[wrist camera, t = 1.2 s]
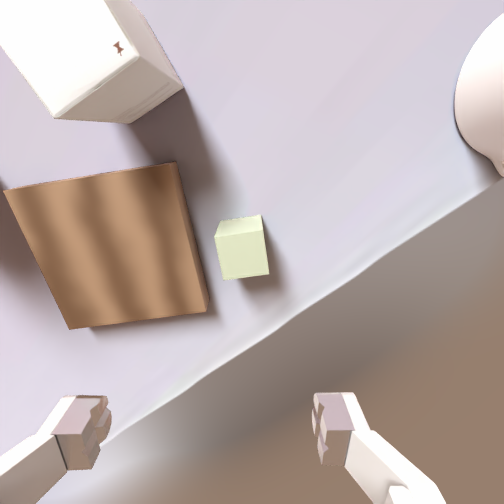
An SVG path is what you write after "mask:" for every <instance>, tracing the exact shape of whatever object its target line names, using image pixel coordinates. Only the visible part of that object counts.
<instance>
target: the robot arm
mask: <svg viewBox="0 0 504 504" xmlns="http://www.w3.org/2000/svg"><path fill="white" fill-rule="evenodd" d="M455 116H456V121H457V125H458V128H459V130H460V132H461V134H462V136H463V137H464V139H465V140H466V142H467V143H468V144H469V145H470V146H471V147H472V148H473V149H475V150H476V151H478V152H480V153H481V154H483V155H485V156H487V157H488V158H489V159H490V160H492V162H493V164H494V166H495V168H496V170H497V171H498V173H499V174H500V175H501V176H502V177H504V13H503V14H502V15H500V16H499V17H498V18H497V19H496V20H495V21H494V22H493V23H492V24H491V25H490V26H489V27H488V28H487V29H486V30H485V31H484V32H483V33H482V35H481V36H480V37H479V39H478V40H477V41H476V43H475V44H474V46H473V47H472V49H471V51H470V52H469V54H468V56H467V58H466V60H465V62H464V64H463V67H462V69H461V72H460V75H459V78H458V82H457V86H456V92H455ZM107 404H108V399H107V396H88V395H66V396H64V397H63V398H61V400H60V401H59V402H58V404H57V405H56V407H55V408H54V409H53V411H52V412H51V414H50V415H49V417H48V418H47V419H46V421H45V422H44V424H43V425H42V426H41V428H40V429H39V431H38V432H37V433H36V435H32V436H30V437H28V438H27V439H25V440H24V441H22V442H21V443H20V444H18V445H17V446H15V447H14V448H12V449H11V450H9V451H8V452H7V453H5V454H4V455H2V456H1V457H0V504H36V502H38V501H39V500H40V498H42V497H43V496H44V495H45V494H46V493H47V492H48V491H49V490H50V489H51V488H52V487H53V486H54V485H55V484H56V483H57V482H58V481H59V480H60V479H61V478H62V477H63V476H64V475H65V474H66V473H67V470H86V469H92V467H93V465H94V463H95V461H96V459H97V457H98V455H99V452H100V446H99V444H100V443H101V442H102V441H104V440H105V439H106V437H107V435H108V433H109V430H110V426H111V417H112V416H111V411H110V410H109V409H108V408H106V406H107ZM314 404H315V406H314V408H313V409H312V424H313V430H314V435H315V436H316V437H317V438H318V446H317V447H318V452H319V456H320V460H321V464H322V465H336V466H338V465H339V466H345V468H346V469H347V470H348V472H349V473H350V474H351V475H352V477H353V478H354V479H355V480H356V482H357V483H358V484H359V485H360V487H361V488H362V489H363V490H364V492H365V493H366V494H367V496H368V497H369V498H370V499H371V501H372V502H373V503H374V504H446V502H445V501H444V499H443V497H442V495H441V493H440V492H439V490H438V488H437V486H436V484H435V483H433V482H432V481H431V480H430V479H429V478H428V477H427V476H426V475H424V474H423V473H422V472H421V471H420V470H419V469H418V468H416V467H415V466H414V465H413V464H412V463H410V462H409V461H408V460H407V459H406V458H405V457H404V456H403V455H402V454H400V453H399V452H398V451H397V450H396V449H395V448H394V447H392V446H391V445H390V444H389V443H388V442H387V441H386V440H384V439H383V438H382V437H381V436H380V435H379V434H378V433H376V432H375V431H370V428H369V426H368V424H367V421H366V419H365V417H364V415H363V412H362V410H361V408H360V405H359V403H358V401H357V398H356V396H355V394H354V393H353V392H351V393H349V392H348V393H339V392H338V393H315V394H314Z"/></svg>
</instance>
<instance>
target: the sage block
mask: <svg viewBox="0 0 504 504" xmlns="http://www.w3.org/2000/svg"><path fill="white" fill-rule="evenodd" d="M214 239H215V243H216V248H217V253H218V257H219V262H220V267H221V271H222V276H223V280H230V279H237V278H245V277H252V276H259V275H267V274H269V268H268V261H267V253H266V246H265V239H264V232H263V225H262V218H261V215H256V216H249V217H243V218H236V219H229V220H223V221H220V222H219V225H218V228H217V231H216V234H215V236H214Z"/></svg>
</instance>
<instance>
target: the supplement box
mask: <svg viewBox="0 0 504 504" xmlns="http://www.w3.org/2000/svg"><path fill="white" fill-rule="evenodd" d="M0 46H1V47H2V48H3V50H4V51H5V52H6V54H7V55H8V56H9V58H10V59H11V60H12V62H13V63H14V64H15V66H16V67H17V69H18V70H19V71H20V73H21V74H22V76H23V77H24V78H25V80H26V81H27V82H28V84H29V85H30V87H31V88H32V89H33V91H34V92H35V94H36V95H37V96H38V98H39V99H40V101H41V102H42V103H43V105H44V106H45V107H46V109H47V110H48V112H49V113H50V114H51V116H52V117H53V118H54V119H66V120H81V121H97V122H114V123H127V124H130V123H132V122H133V121H135V120H137V119H138V118H140V117H141V116H143V115H144V114H146V113H147V112H149V111H150V110H152V109H153V108H154V107H156V106H157V105H159V104H160V103H162V102H163V101H165V100H166V99H168V98H169V97H170V96H172V95H173V94H175V93H176V92H178V91H179V90H181V89H182V88H183V87H184V86H183V84H182V83H181V81H180V79H179V77H178V76H177V74H176V72H175V70H174V69H173V67H172V65H171V63H170V61H169V60H168V58H167V56H166V54H165V53H164V51H163V49H162V47H161V45H160V44H159V42H158V40H157V38H156V37H155V35H154V33H153V31H152V30H151V28H150V26H149V24H148V23H147V21H146V19H145V17H144V16H143V14H142V13H141V11H140V10H139V9H138V8H137V7H136V6H135V5H134V4H133V3H132V2H131V1H130V0H0Z"/></svg>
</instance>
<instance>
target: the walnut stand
mask: <svg viewBox="0 0 504 504" xmlns="http://www.w3.org/2000/svg"><path fill="white" fill-rule="evenodd" d="M3 192H4V194H5V196H6V198H7V201H8V203H9V205H10V207H11V209H12V211H13V213H14V215H15V217H16V219H17V221H18V223H19V226H20V228H21V230H22V232H23V234H24V236H25V238H26V240H27V242H28V244H29V246H30V249H31V251H32V253H33V255H34V257H35V259H36V261H37V263H38V265H39V267H40V269H41V272H42V274H43V276H44V278H45V280H46V282H47V284H48V286H49V288H50V290H51V292H52V294H53V297H54V299H55V301H56V303H57V305H58V307H59V309H60V311H61V313H62V315H63V317H64V320H65V322H66V324H67V326H68V328H69V330H71V329H78V328H86V327H94V326H101V325H109V324H116V323H124V322H132V321H139V320H147V319H154V318H162V317H170V316H177V315H185V314H192V313H200V312H206V311H207V307H208V303H209V295H208V291H207V287H206V283H205V278H204V274H203V270H202V266H201V262H200V258H199V254H198V249H197V245H196V241H195V237H194V233H193V229H192V225H191V220H190V216H189V212H188V208H187V204H186V200H185V196H184V191H183V187H182V183H181V179H180V175H179V171H178V167H177V162H176V161H175V162H169V163H163V164H157V165H151V166H145V167H138V168H132V169H126V170H120V171H114V172H107V173H101V174H95V175H89V176H83V177H76V178H70V179H64V180H58V181H52V182H45V183H39V184H33V185H27V186H22V187H17V188H13V189H9V190H4V191H3Z"/></svg>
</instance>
